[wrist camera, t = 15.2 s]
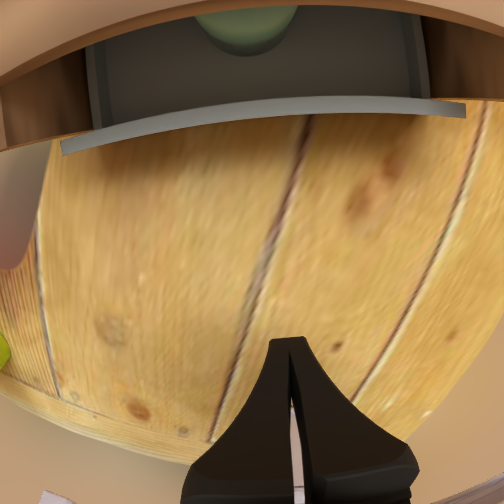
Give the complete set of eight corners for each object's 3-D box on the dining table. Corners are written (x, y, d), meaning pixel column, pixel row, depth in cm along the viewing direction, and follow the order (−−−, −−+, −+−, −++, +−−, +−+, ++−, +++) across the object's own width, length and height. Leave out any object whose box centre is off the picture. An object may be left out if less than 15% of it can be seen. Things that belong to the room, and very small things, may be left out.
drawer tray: (423, 114, 17) (466, 118, 12) (103, 144, 18) (62, 155, 14) (400, -32, 13) (432, -59, 8) (90, -1, 14) (52, -22, 9)
